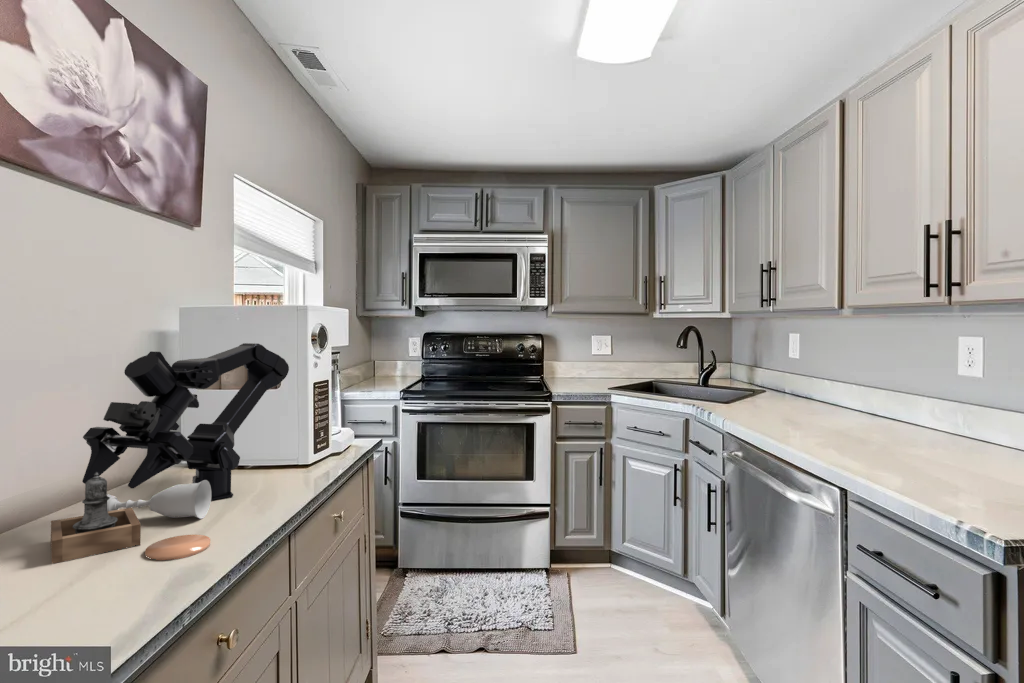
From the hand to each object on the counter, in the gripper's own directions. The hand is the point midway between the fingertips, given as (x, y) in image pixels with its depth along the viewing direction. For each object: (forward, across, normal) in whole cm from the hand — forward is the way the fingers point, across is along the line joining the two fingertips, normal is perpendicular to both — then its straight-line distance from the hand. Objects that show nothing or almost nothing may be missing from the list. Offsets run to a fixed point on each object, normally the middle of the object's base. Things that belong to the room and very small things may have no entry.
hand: (107, 485), depth 88 cm
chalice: (0, -10, +10) cm, 14 cm away
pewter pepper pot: (+8, 0, +5) cm, 10 cm away
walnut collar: (+8, 0, +5) cm, 9 cm away
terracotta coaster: (+7, +15, +6) cm, 17 cm away
